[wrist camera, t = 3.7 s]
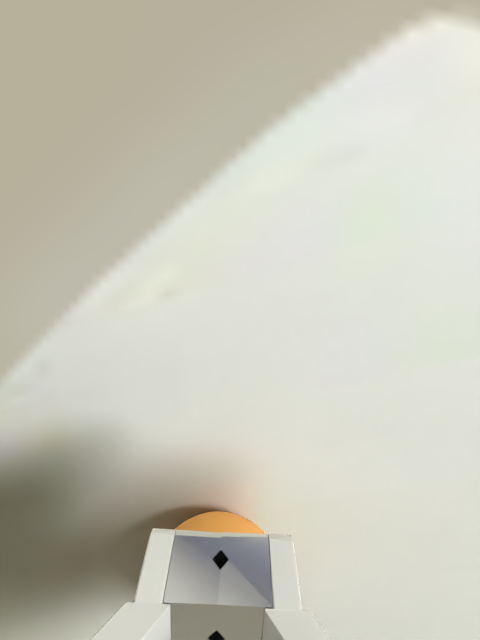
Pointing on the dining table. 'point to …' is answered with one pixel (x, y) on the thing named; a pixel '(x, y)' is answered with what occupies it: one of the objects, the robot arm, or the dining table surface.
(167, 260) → the dining table surface
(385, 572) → the dining table surface
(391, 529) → the dining table surface
